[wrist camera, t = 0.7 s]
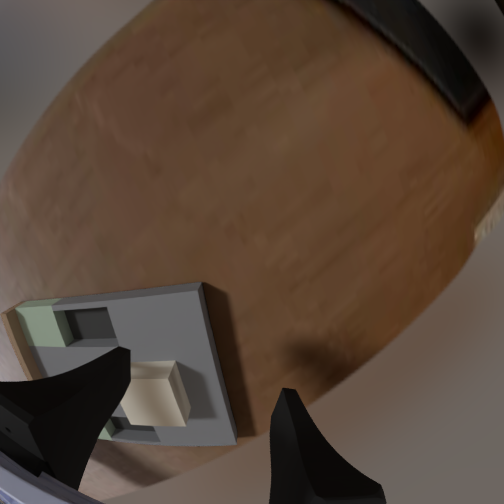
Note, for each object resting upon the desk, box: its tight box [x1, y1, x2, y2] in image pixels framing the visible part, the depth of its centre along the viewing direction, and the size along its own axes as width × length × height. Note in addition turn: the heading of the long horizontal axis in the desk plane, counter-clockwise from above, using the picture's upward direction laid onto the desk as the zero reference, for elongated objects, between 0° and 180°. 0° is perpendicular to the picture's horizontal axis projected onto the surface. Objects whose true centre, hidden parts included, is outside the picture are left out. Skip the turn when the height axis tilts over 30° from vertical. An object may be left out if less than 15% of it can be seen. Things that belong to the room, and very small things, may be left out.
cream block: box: [120, 361, 191, 426], centre depth 20 cm, size 5×5×2 cm
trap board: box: [0, 282, 237, 446], centre depth 22 cm, size 20×16×4 cm
